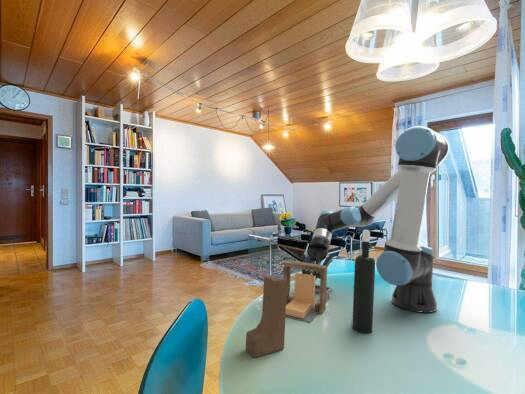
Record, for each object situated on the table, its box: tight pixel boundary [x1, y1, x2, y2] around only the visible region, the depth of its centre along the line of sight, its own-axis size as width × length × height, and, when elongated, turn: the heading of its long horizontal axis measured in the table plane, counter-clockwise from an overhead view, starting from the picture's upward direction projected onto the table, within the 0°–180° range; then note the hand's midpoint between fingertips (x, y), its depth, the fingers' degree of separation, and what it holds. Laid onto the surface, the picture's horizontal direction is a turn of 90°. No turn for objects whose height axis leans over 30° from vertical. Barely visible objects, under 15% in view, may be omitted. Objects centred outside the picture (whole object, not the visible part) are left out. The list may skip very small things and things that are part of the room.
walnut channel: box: [282, 259, 331, 315], centre depth 107 cm, size 16×15×16 cm
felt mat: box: [285, 308, 320, 324], centre depth 96 cm, size 11×12×1 cm
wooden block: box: [245, 274, 287, 358], centre depth 72 cm, size 9×4×18 cm, turn 122°
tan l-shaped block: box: [286, 272, 317, 319], centre depth 97 cm, size 12×7×11 cm, turn 153°
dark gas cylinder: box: [351, 229, 376, 335], centre depth 86 cm, size 6×6×30 cm
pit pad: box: [315, 284, 333, 295], centre depth 121 cm, size 8×8×1 cm
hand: (306, 292), depth 104 cm, fingers closed
